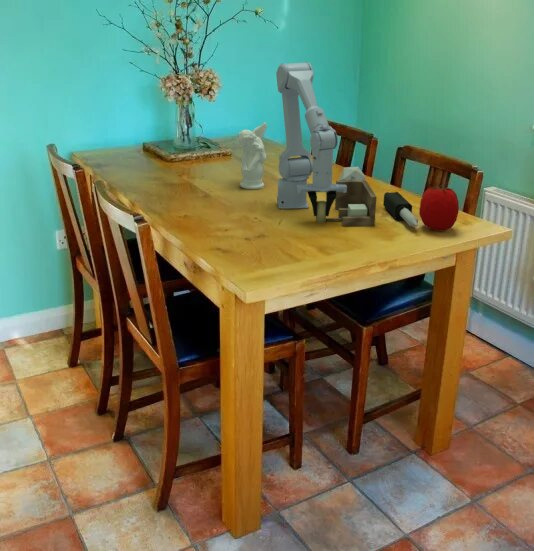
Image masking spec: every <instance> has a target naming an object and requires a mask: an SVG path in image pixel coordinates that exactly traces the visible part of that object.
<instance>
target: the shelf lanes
mask: <svg viewBox="0 0 534 551" xmlns="http://www.w3.org/2000/svg"><path fill="white" fill-rule="evenodd" d="M335 184H340V185H346V186H347V193H343V192H336V198H335V200H334V202H335V203H334V209H335V210H338V213H337V214H338V215H337V216H338V218H342V221H341V226H342V227H374V226H375V225H376V209H377V195H376V193H374V190H373V189H372V188H371V186H370V184H369V182H368V180H365V181H338V180H336V181H335ZM348 204H365V206H366V208H367V216H357V217H348Z"/></svg>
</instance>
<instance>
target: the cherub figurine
mask: <svg viewBox="0 0 534 551" xmlns="http://www.w3.org/2000/svg"><path fill="white" fill-rule="evenodd" d="M267 124H268V123H266V121H264V122H263V123H262V125H259V126H256V127H255V128H254V129H253V131H252V130H250V129H243V130H241V131H238V142H239V144H240V145H241V149H242V152H241V156H240V157H241V158H240V161H241V168H240V171H241V176H242V178H241V182H239V186H240V187H241V188H243V189H246V190H258V189H260V190H261V189H263V188H264V186H265V183H264V182H263V178H262V177H263V175H264V166H263V164H264V163H265V162H266V160H267V154H266V150H265V145H264V142H263V140H262V138H263V137H264V134H265V133H266V131H267V128H268V125H267Z"/></svg>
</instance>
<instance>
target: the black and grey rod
mask: <svg viewBox="0 0 534 551" xmlns="http://www.w3.org/2000/svg"><path fill="white" fill-rule="evenodd" d="M382 203H383V207H384V208H385V209H386V210H387V212H389V213H390V215H392V216H393V218H394V219H396V221H405V222H406V223H407V225H409V227H416V228H417V227H419V224H418V222H419V219H418V218H417V217H416V216H415V215H414V214H413V205H412V204H411V203H410V202H409V201H408V200H407V199H406V198H405V197H404V196H403V195H402V194H400V192H398V191H395V192H388V191H387V192H385V193H384V194H383V202H382Z"/></svg>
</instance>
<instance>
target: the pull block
mask: <svg viewBox="0 0 534 551" xmlns="http://www.w3.org/2000/svg"><path fill="white" fill-rule="evenodd" d="M316 210H317V216H315V222H316V223H317V224H323V223H326V222H342V218H339V217H338V218H336V217H335V218H334V217H333V218H329V217H327V216H326V201H325V200H317V204H316ZM357 216H367V208H366V206H365V204H348V217H357Z"/></svg>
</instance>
